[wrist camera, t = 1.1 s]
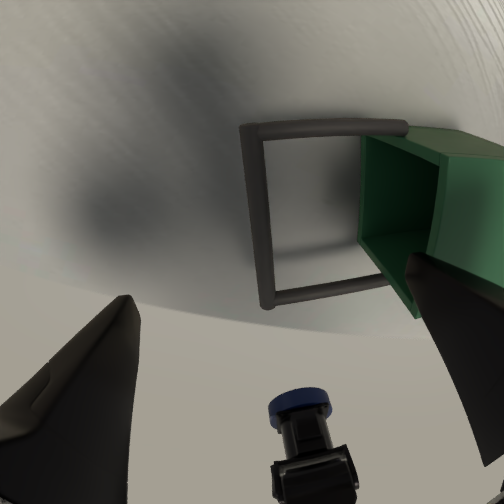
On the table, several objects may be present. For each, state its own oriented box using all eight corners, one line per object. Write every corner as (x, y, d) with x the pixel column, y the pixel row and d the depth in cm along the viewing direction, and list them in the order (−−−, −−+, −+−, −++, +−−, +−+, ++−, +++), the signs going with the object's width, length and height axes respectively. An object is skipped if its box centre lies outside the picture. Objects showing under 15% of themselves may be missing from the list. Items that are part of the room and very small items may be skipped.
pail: (459, 119, 13) (545, 151, 7) (445, 237, 18) (506, 295, 12) (234, 118, 13) (246, 139, 7) (252, 266, 17) (270, 362, 11)
